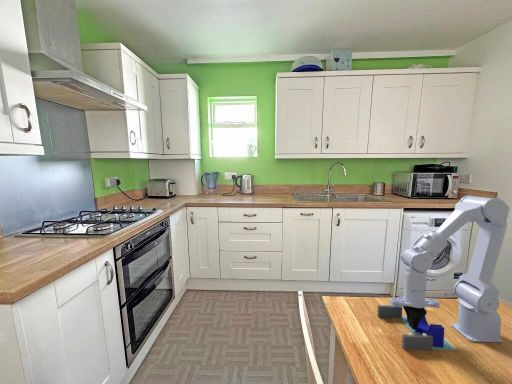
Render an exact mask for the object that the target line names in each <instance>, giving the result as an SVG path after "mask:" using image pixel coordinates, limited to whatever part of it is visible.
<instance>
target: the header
mask: <svg viewBox="0 0 512 384" xmlns="http://www.w3.org/2000/svg"><path fill="white" fill-rule="evenodd" d="M376 317H378V318H383V319H384V318H385V319H388V318H389V319H399V318H402V317H403V306H396V307H392V306H391V305H390V304H389V305H386V303H382V305H381V304H377V316H376ZM401 338H402V340H401V348H402V349H403V350H404V351H426V352H427V351H428V352H429V351H430V352H431V351H433V350H434V349H433V337H432V336H431V335H427V334H425V333H423V335H414V334H413V333H412V332H408V334H406V333H405V334H402V337H401Z"/></svg>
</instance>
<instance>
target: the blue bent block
mask: <svg viewBox="0 0 512 384" xmlns="http://www.w3.org/2000/svg"><path fill="white" fill-rule="evenodd" d="M407 321H408V318H407ZM428 324H429V323H428V320H427V317H426V315H425V316H424V317H423V318H422V319H421V321H420V323H419V325H418V327H417V330H415V332H421V333H422V334H423V333H425V334H427V335H431V336H432V337H433V347H442V348H443V345H444V339H445V327H444V326H443V325H442V324H437V323H436V324H435V323H430V324H429V325H430V326H429V325H428Z"/></svg>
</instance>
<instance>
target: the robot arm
mask: <svg viewBox="0 0 512 384" xmlns="http://www.w3.org/2000/svg"><path fill="white" fill-rule="evenodd" d="M510 209H511V207H509V205H508V204H507V203H506V202H505V201H504V200H503V199H501V198H499V197H496V198H495V197H485V196H474V195H465V196H462V197H461V199H459V201H458V202H457V203H456V204H455V205H454V210H453V211H452V212H451V214H450V215H449V216H448V217H447V218H446V219H445V220H444V221H443V223H442V224H441V225H440V226H439V227H438V228H437V229H436V231H429V232H427V233H424V235H423V236H422V238H421V239H420V240H419V241H418V242H417V243H416V244H415V245H413V246H412V248H408V249H405V250H404V251H403V253H402V255H401V256H400V259H401V262H403V264H404V265H403V266H404V267H403V268H404V274H403V275H404V278H403V279H404V282H403V296H398V297H397V296H396V297H392V298H391V297H388V298H389V300H388V301H389V303H388V304H389V305H391V306H392V307H396V306H401V307H402V309H403V310H404V312H405V315H406V317H407V318H408V322H409V326H410V327H411V328H412V329H413V330H417V327H418V325H419V323H420V321H421V319H422V318H423V317H424V316H425V317H426V315H427V313H428V310H426V308H435V309H440V305H441V303H440V301H438V300H437V299H433V298H427V297H426V293H427V290H426V289H427V276H428V275H427V274H428V273H427V272H428V271H429V270H430V269H432V267H433V263H434V261H435V257H437V256H438V255H439V254H440V253H441V252H442V251H443V250H444V249H445V248H446V247H447V246H448V239H450V237H452V236H453V235H454V234H455V233H457V232H458V231H459V230H461V228H463V227H464V226H465V225H467V223H472V222H474V223H476V224H477V225H478V227H479V229H478V233H477V237H476V242H475V245H474V250H473V252H472V256H471V259H470V263H469V267H468V271H467V273H465V274H461V275H459V278H458V281H457V282H456V283H455V284H454V285H453V293H454V295H455V296H456V297H457V301H458V316H457V323H455V322H453V323H452V322H450V327H452V328H454V329H455V330H456V331H458V333H460V335H462V336H464V337H465V339H467V340H468V341H469V342H481V343H503V342H504V341H503V339H502V338H501V331H502V330H501V328H502V320H501V319H502V318H501V316H500V314H499V313H498V311H497V310H498V309H499V307H500V299H499V297H500V296H499V295H500V290H499V289H498V288H497V287H496V285H495V284H494V282H493V278H494V274H495V270H496V267H497V263H498V261H499V260H498V259H499V256H500V252H501V249H502V247H503V242H504V239H505V235H506V231H507V228H508V221H507V219H508V216H509V213H510Z"/></svg>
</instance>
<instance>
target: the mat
mask: <svg viewBox="0 0 512 384" xmlns="http://www.w3.org/2000/svg"><path fill="white" fill-rule="evenodd" d="M398 319H399V320H400V321H401V322H402V323H403V325H405V327H406V328H407V329H409V331H410V333H412V334H413V335H423V334H422V333H421V332H415V330H413V329H412V328H411V327H410V326H409V322H408V321H407V316H402V318H398ZM428 325H429V326H430V324H429V323H428ZM433 350H434V351H436V350H439V351H443V350H444V351H457V349H456V348H455V347H454V346H452V344H450V342H448V341H447V340H446V339H445V338H444V345H443V348H442V347H433Z"/></svg>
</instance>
